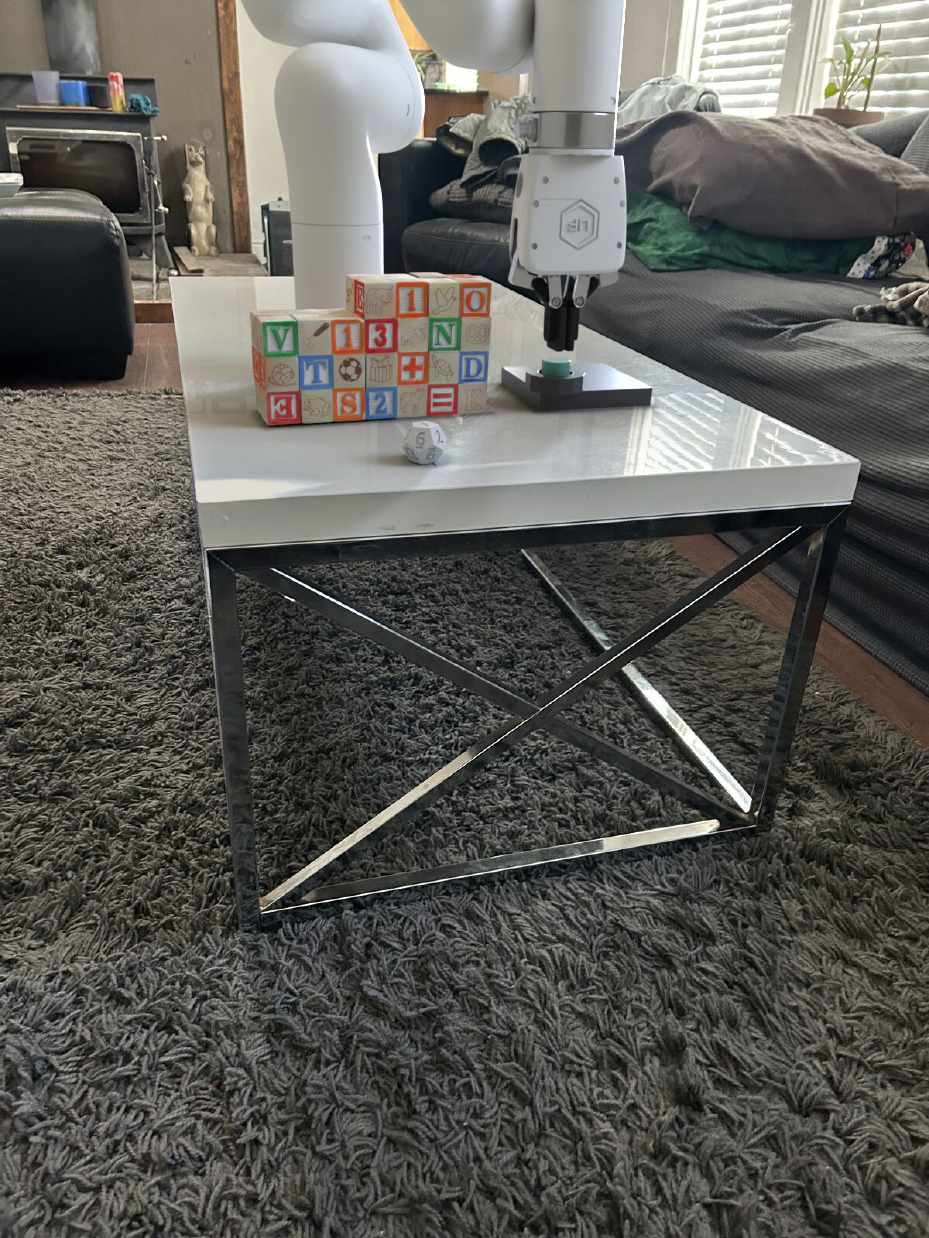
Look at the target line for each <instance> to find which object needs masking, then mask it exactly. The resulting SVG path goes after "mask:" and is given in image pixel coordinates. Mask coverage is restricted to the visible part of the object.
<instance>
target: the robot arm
mask: <svg viewBox="0 0 929 1238" xmlns="http://www.w3.org/2000/svg"><path fill="white" fill-rule="evenodd" d="M240 2H241V4H242V6H243V8H244V10H245V12H246V14H247V16H248V19H249V20H250V22H251V25H252V26H253V27H254V28H255V29H256V31H257V32H258V33H259V34H260V35H261V36H262V37H263V38H265V39H267V40H268V41H271V42H273V43H275V44H278V45H279V44H280V45H284V46H288V47H291V48H297V49H295V50H294V51H293V52H291V53H290V54H289V55H288V56H287V57H286V59H285V60H284V61H283V63H282V64H281V65H280V68H279V69H278V73H277V75H276V79H275V82H274V83H275V85H274V90H273V97H274V99H273V100H274V104H273V105H274V110H275V119H276V123H277V128H278V132H279V137H280V141H281V145H282V149H283V155H284V160H285V168H286V176H287V186H288V198H289V199H288V200H289V215H290V216H289V217H290V225H291V228H290V229H291V245H292V246H291V247H292V265H293V285H294V303H295V309H316V310H317V309H345V308H346V280H345V275H347V274H375V275H378V274H385V272H384V271H385V269H384V221H383V220H384V219H383V218H384V217H383V216H384V215H383V214H384V213H383V210H384V209H383V197H382V189H381V184H380V183H381V182H380V179H379V175H378V171H377V169H376V166H375V165H376V164H375V162H374V159H373V156H372V154H389V153H394V152H397V151H400V150H402V149H404V148H406V147H408V146H409V145H410V144H411V143H412V142H413V141H414V140H415V139H416V137H417V136H418V134H419V132H420V130H421V128H422V125H423V121H424V117H425V108H426V107H425V106H426V104H425V103H426V102H425V92H424V87H423V83H422V80H421V77H420V74H419V71H418V68H417V66H416V64H415V61H414V59H413V56H412V54H411V52H410V50H409V47H408V44H407V42H406V39H405V38H404V35H403V33H402V31H401V30H402V29H401V28H400V26H399V23H398V20H397V18H396V15H395V14H394V12H393V9H392V7H391V4H390V2H389V0H240ZM398 2H399V3H400V5H401V7H402V8H403V10H404V11H405V13H406V15H407V16H408V18H409V19H410V21H411V23H412V25H413V26H414V27H415V29H416V30H417V32H418V33H419V35H420V36H421V38H422V39H423V41H424V42H425V43H426V44H427V45H428V47H429V48H430V50H432V51H433V52H434V53H435V54H436V56H438V57H439V58H440V59H441V60H443V61H444V62H446V63H448V64H449V65H452V66H454V67H457V68H461V69H466V70H473V71H480V72H481V71H482V72H486V73H491V74H494V75H495V74H496V75H503V76H519V75H526V74H531V73H532V77H531V97H530V98H531V100H530V102H531V103H530V113H528V118H527V119H525V120H524V121H521V120H520V121H518V120H517V121H516V122H515V126H514V135H515V138H516V139H522V140H524V141H526V143H527V145H526V146H527V147H528V148H529V150H528V153H522V156H521V160H520V163H519V168H518V172H517V178H516V184H515V189H514V196H513V202H512V208H511V209H512V210H511V218H510V219H511V220H510V221H511V222H510V230H509V247H508V248H509V251H508V252H509V262H510V263H511V265H510V270H509V273H508V276H507V277H508V278H507V281H508V282H509V284H511V285H514V286H516V287H521V288H523V289H528V290H531V291H532V293H534V294H535V296H537V299H539V300H540V303H541V304H543V305H544V311H543V312H544V313H543V335H542V336H543V340H544V341H545V342H546V347H547V348H549V349H550V350H552V351H555V352H556V353H561V352H563V351H566V352H573V351H574V349H575V342H576V341H577V340H578V338H579V331H580V330H579V328H580V314H581V313H580V312H581V308H583V307H584V306H585V305H586V301H587V300H588V299H589V297H590V296H592V295H593V293H594V292H595V291H596V290H597V289H599V288H603V287H606V286H611V285H614V284H617V282H618V281H619V277H620V275H619V270H620V269H621V268H622V267H623V265H624V262H625V259H626V246H627V187H626V186H627V185H626V174H625V165H624V156H623V155H615V141H616V129H617V128H616V127H617V118H618V117H617V116H618V115H617V113H618V105H619V104H618V102H619V89H620V77H621V76H620V75H621V65H622V53H623V51H622V50H623V38H624V24H625V11H626V0H398ZM530 273H531V274H530ZM534 274H535V275H534ZM561 275H563V276H564V275H566V280H565V285H564V291H563V292H562V279H561V278H562V277H561Z"/></svg>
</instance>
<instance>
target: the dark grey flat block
mask: <svg viewBox="0 0 929 1238" xmlns="http://www.w3.org/2000/svg"><path fill="white" fill-rule="evenodd" d="M541 367H542V365H521V366H519V365H516V366H501V372H500V373H501V374H500V385H502V386H503V387H504V388H506V389H508V390H509V391H510V392H512V393H513V394H514V395H515V396H516V397H519V398H520V399H522V400H523V401H524V402H525V403H527V404H528V405H530V406H531V407H533V408H534V409H536V410H537V411H538V412H555V411H573V410H574V411H575V410H576V411H577V410H595V409H612V408H613V409H615V408H617V409H618V408H634V407H651V404H652V403H651V402H652V398H653V397H652V396H653V387H652V386H650V385H647V384H646V383H643V382H642V381H640V380H638V379H636V378H634V377H632V376H629V375H628V374H626V373H624V372H622V371H620V370H618V369H616V368H614V367H612V366H610V365H608V364H606V363H603V362H601V363H599V362H597V363H573V364H571V363H570V375H568V376H549V375H544V374H541Z"/></svg>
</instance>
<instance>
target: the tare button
mask: <svg viewBox="0 0 929 1238" xmlns="http://www.w3.org/2000/svg"><path fill="white" fill-rule="evenodd" d="M570 364H571V359H569V358H566V357H557V356H549V357H544V358H543V357H542V359H541V366H542V367H541V374H544V375H549V376H568V375H570Z"/></svg>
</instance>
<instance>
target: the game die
mask: <svg viewBox="0 0 929 1238" xmlns="http://www.w3.org/2000/svg"><path fill="white" fill-rule="evenodd" d="M447 441H448V437H447V436H446V434H445V432H444V431H443V429H442V427H441V426H440V424H439V423H435V422H432V421H429V420H423V421H413V422H411V424H410V425H409V427H408V429H407V431H406V432H405V434H404V437H403V441H402V445H401V449H402V450H403V452H404V453H405V455H406V457H407V458H408V460H409V461H410V462H413V463H416V464H419V465H428V464H429V465H431V464H435V463H438V461H439V460H440V458H441V456H442V455H443V454H444V452H445V449H446V444H447Z"/></svg>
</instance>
